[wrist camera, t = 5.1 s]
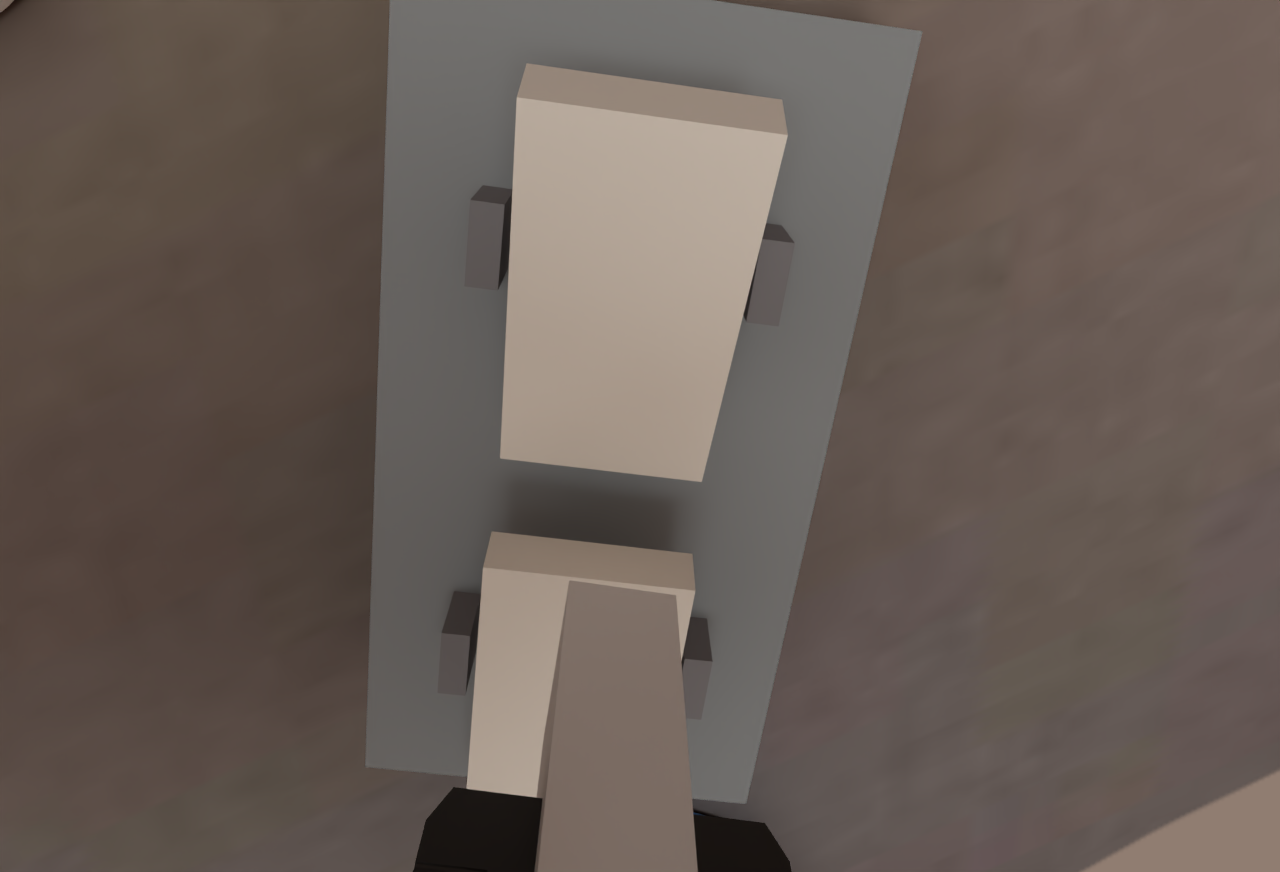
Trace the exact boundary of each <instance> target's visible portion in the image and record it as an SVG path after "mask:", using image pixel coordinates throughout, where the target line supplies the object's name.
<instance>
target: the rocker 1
mask: <svg viewBox="0 0 1280 872" xmlns="http://www.w3.org/2000/svg"><path fill="white" fill-rule="evenodd" d="M787 137H788V133H787V126H786V120H785V114H784V108H783V102H782V100H781V99H774V98H767V97H760V96H753V95H746V94H739V93H732V92H725V91H718V90H711V89H704V88H697V87H690V86H683V85H676V84H669V83H662V82H655V81H648V80H641V79H634V78H627V77H620V76H613V75H606V74H599V73H592V72H585V71H578V70H571V69H564V68H557V67H550V66H543V65H535V64H528V63H527V64H526V67H525V71H524V74H523V78H522V81H521V84H520V88H519V91H518V94H517V101H516V123H515V145H514V166H513V188H512V210H511V231H510V253H509V275H508V296H507V318H506V340H505V361H504V383H503V405H502V426H501V448H500V458H501V459H509V460H518V461H526V462H535V463H543V464H552V465H560V466H569V467H577V468H586V469H595V470H603V471H612V472H620V473H629V474H637V475H646V476H654V477H663V478H671V479H680V480H689V481H697V482H702V479H703V475H704V471H705V467H706V463H707V459H708V455H709V451H710V447H711V443H712V439H713V435H714V431H715V427H716V423H717V419H718V415H719V411H720V407H721V403H722V398H723V394H724V390H725V386H726V382H727V378H728V374H729V370H730V366H731V362H732V358H733V354H734V350H735V346H736V342H737V338H738V334H739V330H740V326H741V322H742V318H743V314H744V310H745V306H746V302H747V298H748V294H749V290H750V286H751V282H752V278H753V274H754V270H755V266H756V262H757V258H758V254H759V250H760V246H761V242H762V238H763V234H764V229H765V225H766V221H767V217H768V213H769V209H770V205H771V201H772V197H773V193H774V189H775V185H776V181H777V177H778V173H779V169H780V165H781V161H782V157H783V153H784V149H785V145H786V141H787Z"/></svg>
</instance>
